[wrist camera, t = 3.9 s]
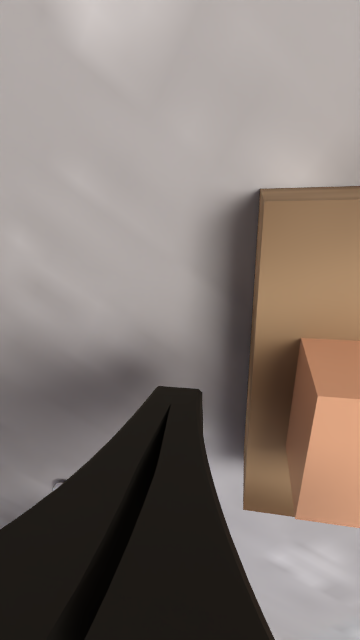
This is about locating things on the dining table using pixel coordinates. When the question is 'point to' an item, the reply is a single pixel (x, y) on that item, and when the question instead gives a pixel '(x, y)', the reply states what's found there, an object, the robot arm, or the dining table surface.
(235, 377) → the dining table surface
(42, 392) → the dining table surface
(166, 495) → the robot arm
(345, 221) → the wooden square board
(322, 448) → the salmon cube
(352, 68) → the dining table surface
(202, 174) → the dining table surface
